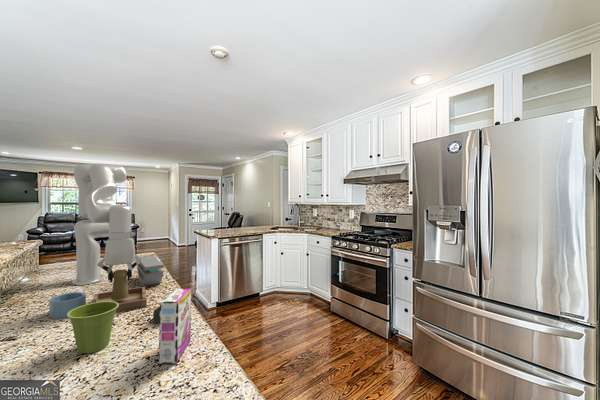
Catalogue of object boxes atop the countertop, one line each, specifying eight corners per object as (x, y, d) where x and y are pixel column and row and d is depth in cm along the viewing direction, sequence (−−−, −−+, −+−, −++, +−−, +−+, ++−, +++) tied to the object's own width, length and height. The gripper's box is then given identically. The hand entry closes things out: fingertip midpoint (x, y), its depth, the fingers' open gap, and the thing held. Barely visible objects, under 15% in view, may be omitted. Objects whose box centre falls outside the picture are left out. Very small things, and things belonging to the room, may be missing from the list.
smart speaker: (154, 316, 97) (154, 305, 97) (181, 312, 101) (181, 301, 101) (151, 327, 89) (151, 315, 89) (180, 322, 92) (180, 311, 92)
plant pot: (128, 340, 80) (128, 303, 80) (85, 363, 69) (85, 320, 69) (101, 333, 84) (101, 298, 84) (56, 354, 73) (56, 313, 73)
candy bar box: (177, 364, 69) (178, 302, 69) (158, 365, 69) (158, 302, 68) (191, 341, 80) (192, 287, 80) (174, 341, 80) (175, 287, 80)
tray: (95, 300, 110) (95, 293, 110) (145, 293, 119) (145, 286, 119) (88, 317, 95) (88, 309, 95) (146, 307, 104) (146, 299, 104)
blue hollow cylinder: (53, 310, 100) (54, 295, 100) (87, 305, 105) (87, 290, 105) (46, 321, 92) (46, 304, 92) (83, 314, 97) (83, 298, 97)
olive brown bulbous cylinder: (119, 300, 103) (119, 272, 103) (107, 299, 105) (107, 271, 105) (132, 295, 109) (132, 268, 109) (120, 293, 111) (120, 267, 111)
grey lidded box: (163, 287, 128) (163, 264, 128) (145, 290, 123) (145, 267, 123) (153, 275, 147) (153, 255, 147) (136, 277, 142) (136, 257, 142)
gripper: (144, 233, 115) (144, 275, 115) (95, 236, 105) (94, 281, 106) (145, 235, 108) (144, 279, 108) (92, 238, 99) (92, 286, 99)
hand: (120, 280), depth 107 cm, fingers closed on olive brown bulbous cylinder, 5 cm apart
